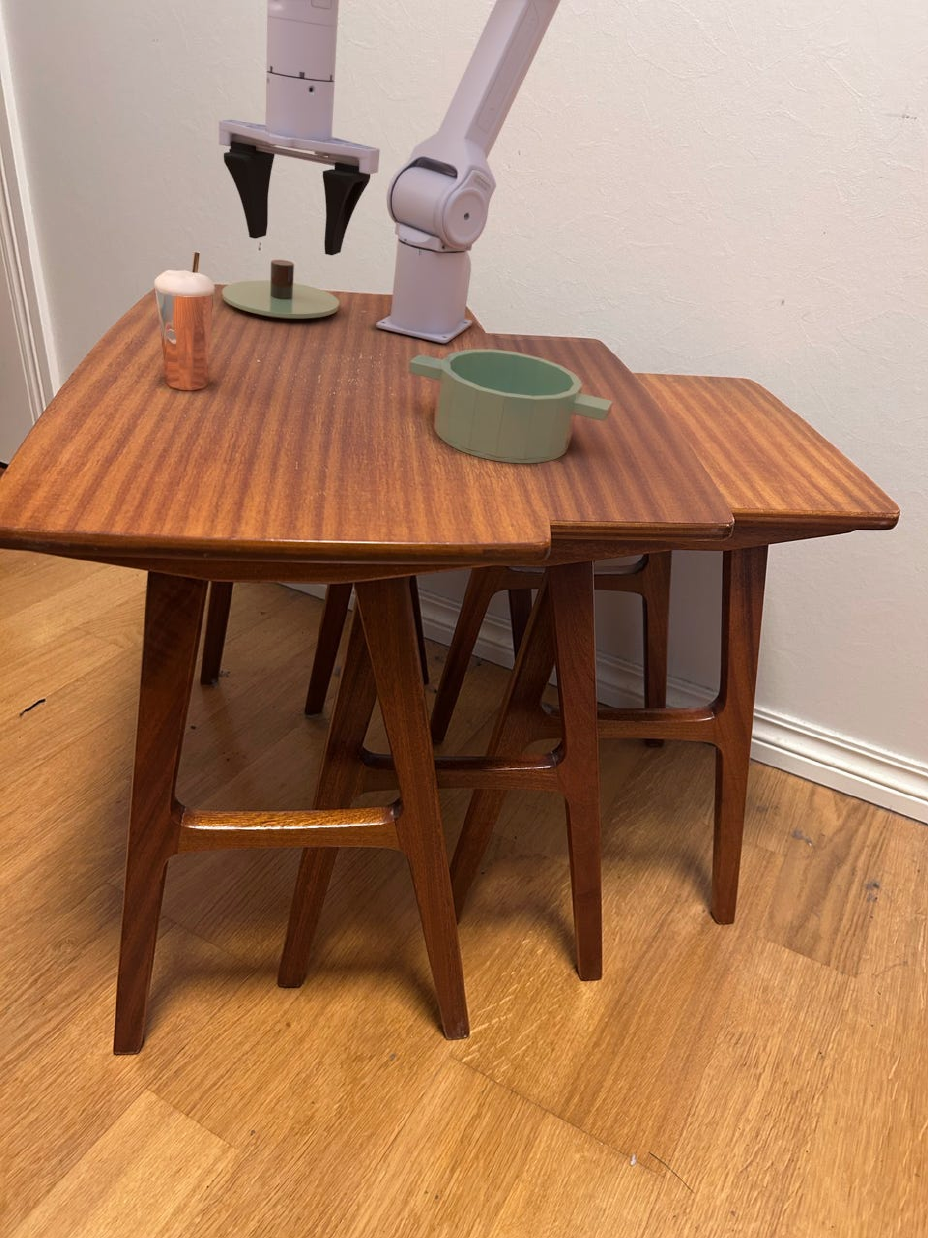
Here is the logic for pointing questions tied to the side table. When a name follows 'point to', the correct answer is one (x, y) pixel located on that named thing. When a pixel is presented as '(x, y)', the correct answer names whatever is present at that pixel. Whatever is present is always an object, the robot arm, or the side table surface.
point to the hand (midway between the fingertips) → (294, 244)
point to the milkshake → (185, 325)
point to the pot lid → (280, 296)
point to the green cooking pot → (506, 404)
